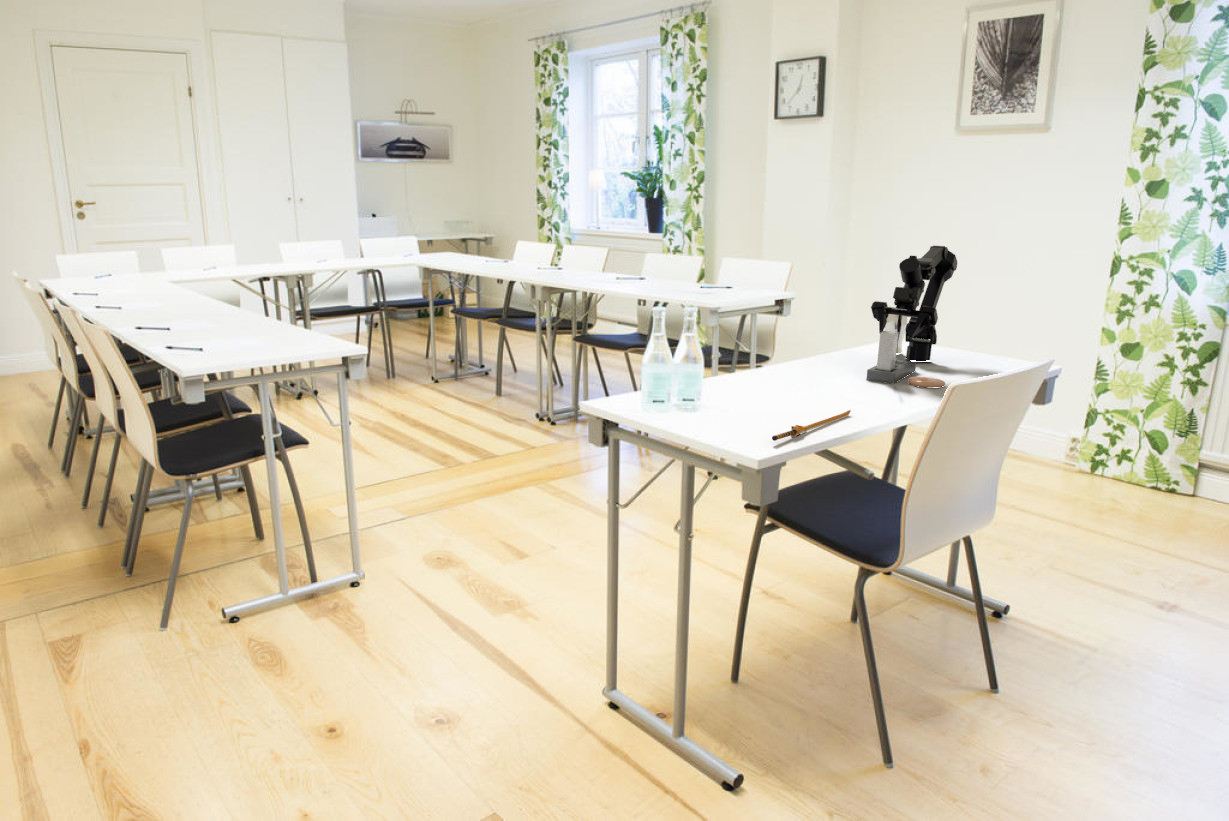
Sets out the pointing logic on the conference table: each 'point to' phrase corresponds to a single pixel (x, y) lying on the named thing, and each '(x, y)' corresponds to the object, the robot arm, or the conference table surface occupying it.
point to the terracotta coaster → (926, 382)
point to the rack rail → (892, 377)
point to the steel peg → (887, 351)
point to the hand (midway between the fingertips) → (895, 335)
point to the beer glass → (897, 328)
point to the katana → (809, 426)
